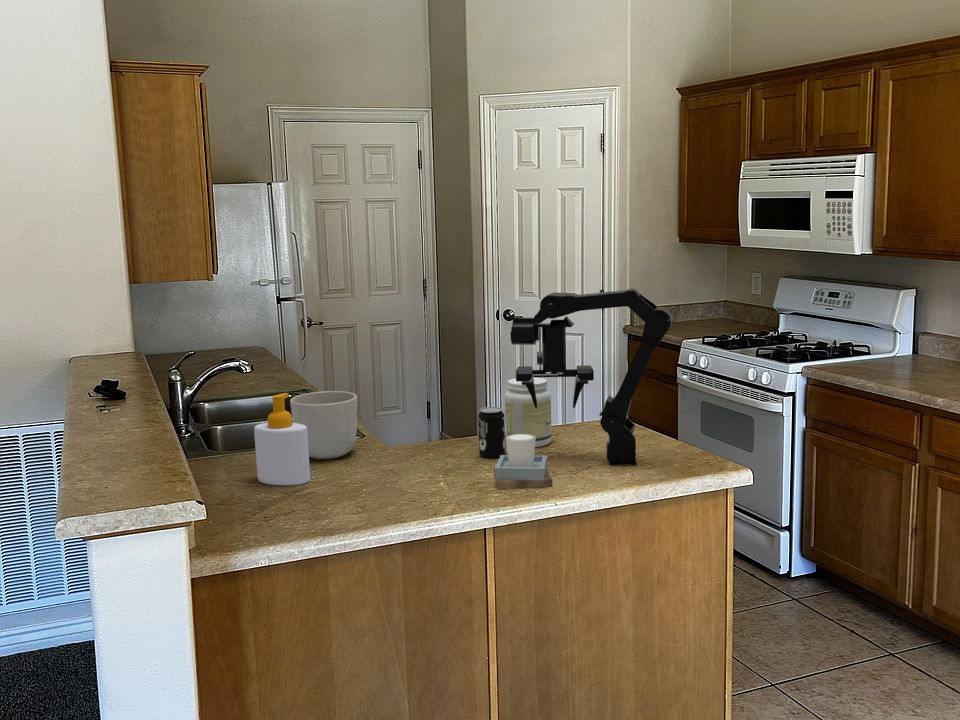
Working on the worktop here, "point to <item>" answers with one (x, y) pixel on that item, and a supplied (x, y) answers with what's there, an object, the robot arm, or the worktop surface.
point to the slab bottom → (524, 483)
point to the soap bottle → (281, 448)
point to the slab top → (521, 469)
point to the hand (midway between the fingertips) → (555, 408)
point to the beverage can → (491, 432)
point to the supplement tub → (528, 411)
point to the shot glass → (521, 450)
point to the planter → (327, 421)
